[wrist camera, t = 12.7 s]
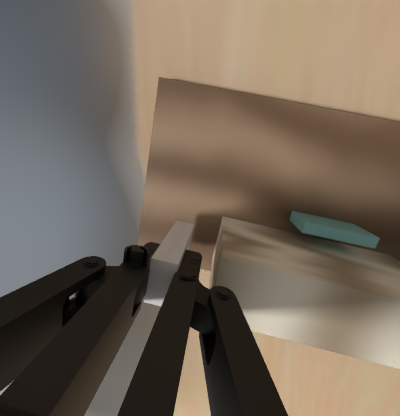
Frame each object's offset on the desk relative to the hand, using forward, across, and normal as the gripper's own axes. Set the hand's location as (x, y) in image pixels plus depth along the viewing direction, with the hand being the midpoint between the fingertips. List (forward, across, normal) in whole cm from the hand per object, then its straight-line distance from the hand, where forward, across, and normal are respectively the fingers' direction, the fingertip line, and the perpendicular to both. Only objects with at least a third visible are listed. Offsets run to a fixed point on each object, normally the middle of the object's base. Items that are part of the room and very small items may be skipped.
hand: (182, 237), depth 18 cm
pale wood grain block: (+2, +10, 0) cm, 10 cm away
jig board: (+3, +10, +4) cm, 11 cm away
